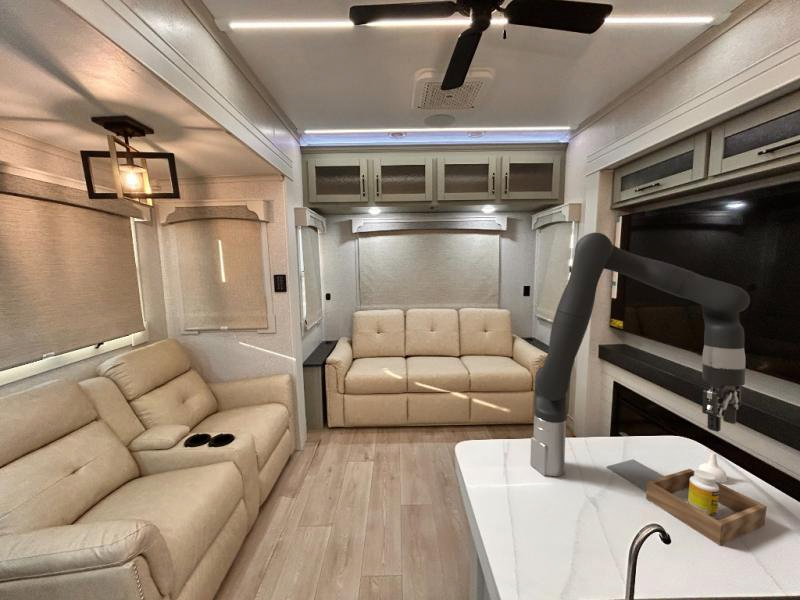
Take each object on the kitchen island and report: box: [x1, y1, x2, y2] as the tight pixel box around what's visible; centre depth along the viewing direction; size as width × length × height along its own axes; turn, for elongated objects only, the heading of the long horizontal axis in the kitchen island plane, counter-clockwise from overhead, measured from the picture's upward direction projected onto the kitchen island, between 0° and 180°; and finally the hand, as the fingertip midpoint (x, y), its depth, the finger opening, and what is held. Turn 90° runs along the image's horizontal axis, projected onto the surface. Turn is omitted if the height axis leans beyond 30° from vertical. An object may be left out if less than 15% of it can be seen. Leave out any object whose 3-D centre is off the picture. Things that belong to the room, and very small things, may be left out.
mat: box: [606, 458, 665, 492], centre depth 98 cm, size 12×12×1 cm
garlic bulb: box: [697, 451, 728, 484], centre depth 96 cm, size 6×6×8 cm
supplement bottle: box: [687, 469, 719, 519], centre depth 82 cm, size 6×6×10 cm
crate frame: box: [645, 468, 767, 546], centre depth 82 cm, size 18×16×5 cm
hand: (721, 426), depth 80 cm, fingers open, 8 cm apart
